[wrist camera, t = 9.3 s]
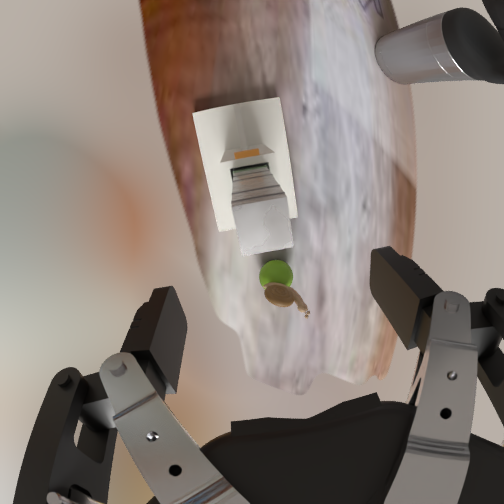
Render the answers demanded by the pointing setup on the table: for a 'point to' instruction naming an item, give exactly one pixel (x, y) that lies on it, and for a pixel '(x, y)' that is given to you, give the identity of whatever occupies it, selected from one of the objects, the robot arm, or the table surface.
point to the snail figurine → (280, 285)
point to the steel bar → (260, 210)
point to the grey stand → (243, 150)
